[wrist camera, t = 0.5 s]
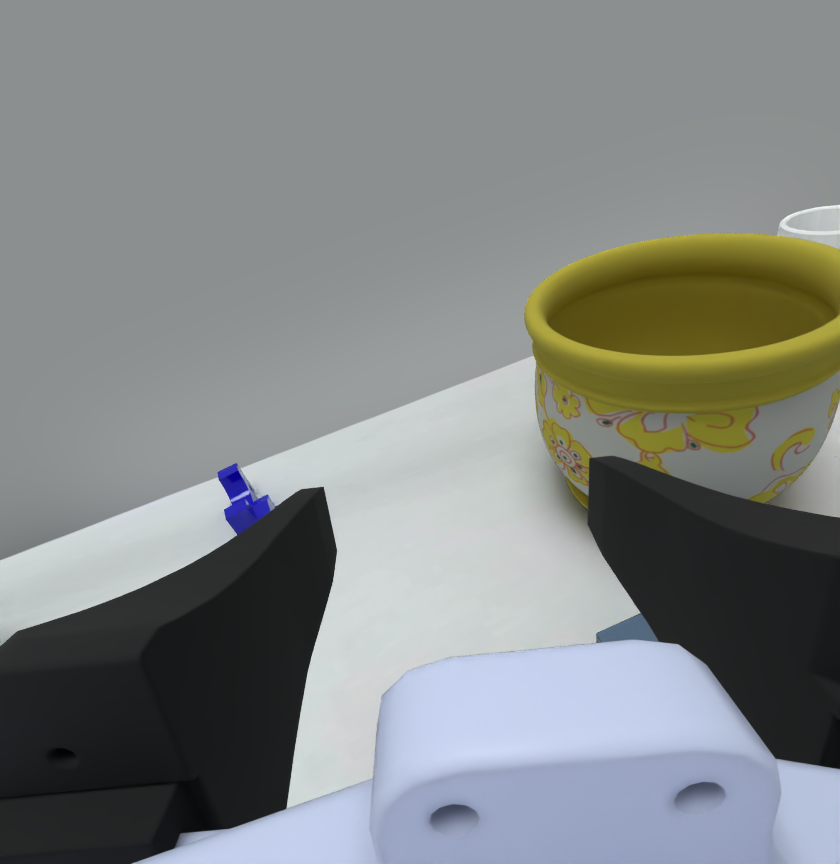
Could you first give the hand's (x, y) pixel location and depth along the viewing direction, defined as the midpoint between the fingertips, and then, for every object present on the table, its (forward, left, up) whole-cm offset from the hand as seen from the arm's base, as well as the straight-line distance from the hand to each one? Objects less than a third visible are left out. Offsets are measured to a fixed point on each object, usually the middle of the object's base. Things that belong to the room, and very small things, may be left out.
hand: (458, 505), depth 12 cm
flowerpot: (+13, -19, -20) cm, 31 cm away
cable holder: (+28, +15, -20) cm, 38 cm away
